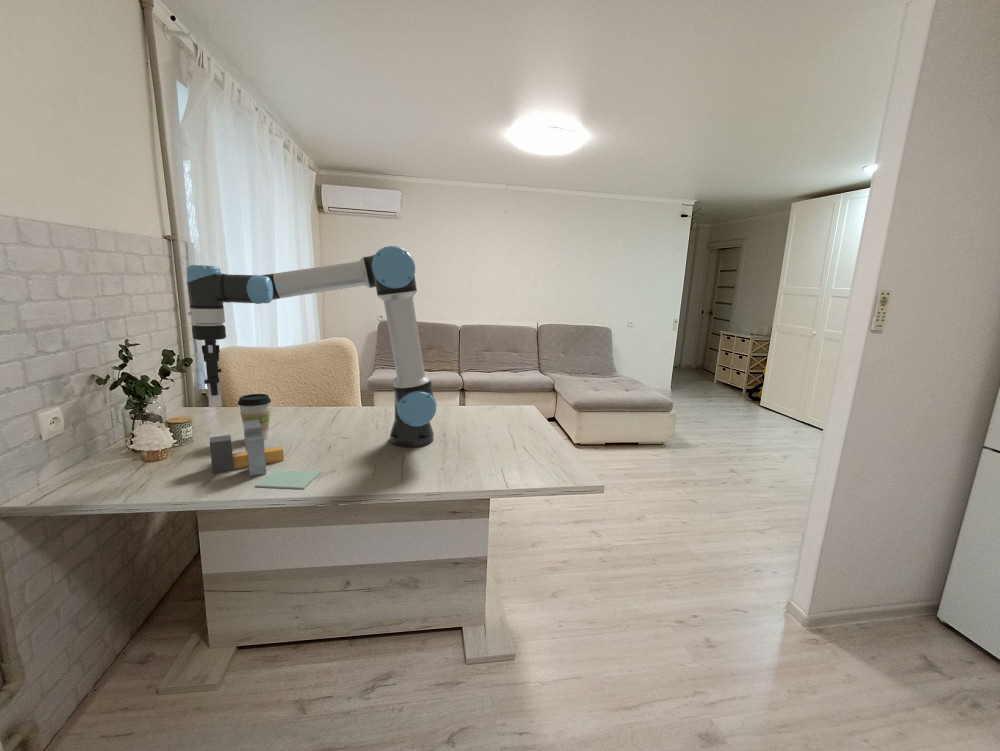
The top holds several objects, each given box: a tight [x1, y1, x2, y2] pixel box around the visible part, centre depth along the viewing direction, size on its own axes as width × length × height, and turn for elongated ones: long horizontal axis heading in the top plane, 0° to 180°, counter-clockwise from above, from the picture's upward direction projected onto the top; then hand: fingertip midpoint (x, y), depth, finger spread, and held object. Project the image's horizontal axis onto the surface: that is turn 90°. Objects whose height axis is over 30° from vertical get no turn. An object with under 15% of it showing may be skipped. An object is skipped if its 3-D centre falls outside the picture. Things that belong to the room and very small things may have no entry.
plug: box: [209, 434, 285, 474], centre depth 126 cm, size 18×5×9 cm, turn 122°
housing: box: [242, 419, 267, 478], centre depth 127 cm, size 4×20×12 cm, turn 33°
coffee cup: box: [237, 393, 272, 441], centre depth 146 cm, size 10×10×15 cm
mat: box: [254, 469, 321, 490], centre depth 118 cm, size 13×10×1 cm
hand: (215, 400), depth 119 cm, fingers open, 13 cm apart
